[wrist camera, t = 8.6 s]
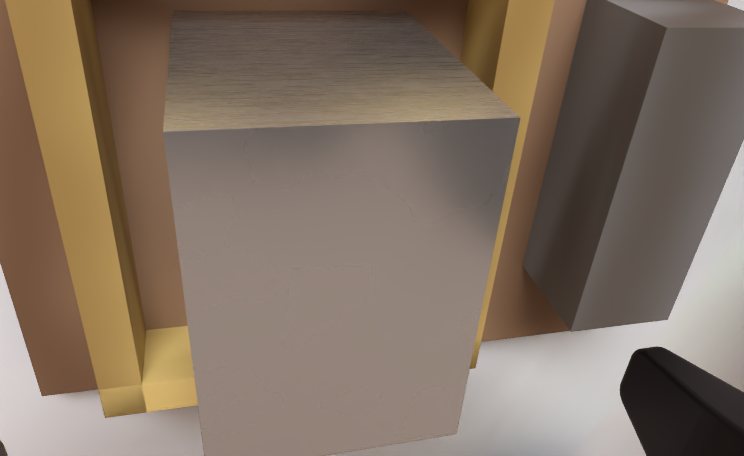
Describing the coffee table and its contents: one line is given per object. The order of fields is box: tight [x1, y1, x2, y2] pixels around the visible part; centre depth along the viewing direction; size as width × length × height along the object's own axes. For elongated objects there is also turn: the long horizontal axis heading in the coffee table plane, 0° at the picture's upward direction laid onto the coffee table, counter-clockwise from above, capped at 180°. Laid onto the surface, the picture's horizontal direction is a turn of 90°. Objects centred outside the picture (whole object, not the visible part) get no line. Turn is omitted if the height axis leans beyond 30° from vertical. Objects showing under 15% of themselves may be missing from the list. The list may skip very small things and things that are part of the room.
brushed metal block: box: [163, 10, 521, 456], centre depth 13 cm, size 5×7×6 cm
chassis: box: [0, 0, 744, 418], centre depth 15 cm, size 18×14×4 cm
